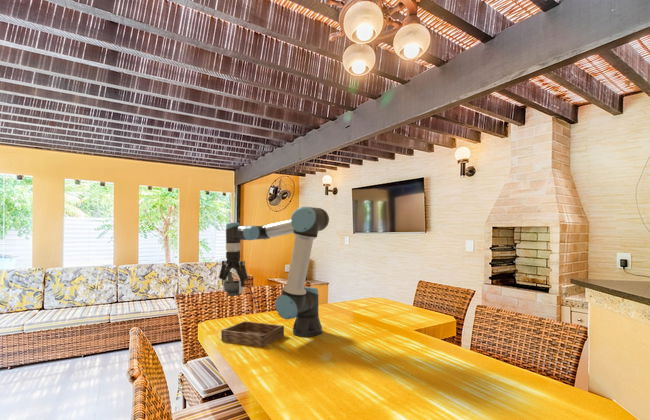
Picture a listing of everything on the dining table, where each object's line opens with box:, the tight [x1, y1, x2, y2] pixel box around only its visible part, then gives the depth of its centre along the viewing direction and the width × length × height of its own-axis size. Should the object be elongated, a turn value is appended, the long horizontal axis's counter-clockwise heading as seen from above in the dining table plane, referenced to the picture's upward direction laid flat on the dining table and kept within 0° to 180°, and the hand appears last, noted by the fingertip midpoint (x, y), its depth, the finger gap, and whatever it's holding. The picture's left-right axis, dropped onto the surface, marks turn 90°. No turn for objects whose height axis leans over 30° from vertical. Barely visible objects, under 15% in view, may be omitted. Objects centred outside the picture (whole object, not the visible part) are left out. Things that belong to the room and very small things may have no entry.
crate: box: [220, 321, 285, 348], centre depth 172 cm, size 24×18×5 cm
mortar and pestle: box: [224, 271, 240, 297], centre depth 190 cm, size 11×9×12 cm
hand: (233, 292), depth 189 cm, fingers closed on mortar and pestle, 10 cm apart
